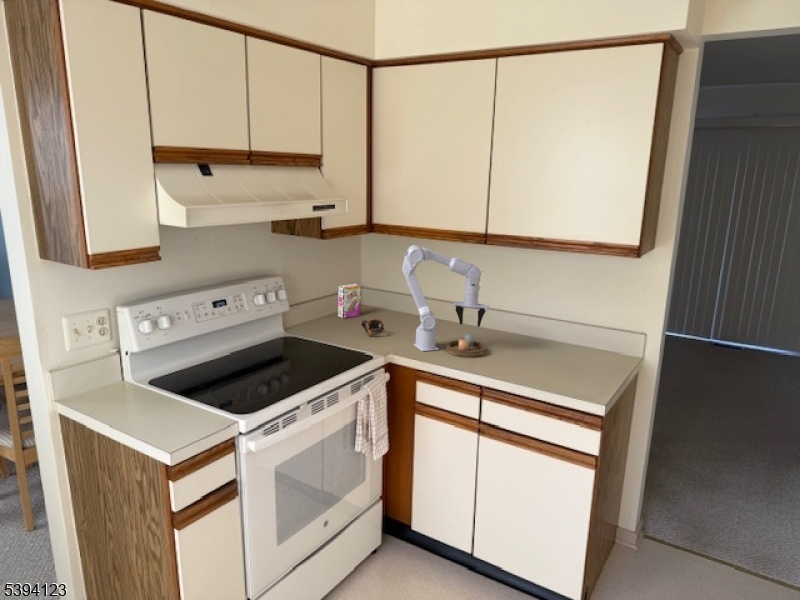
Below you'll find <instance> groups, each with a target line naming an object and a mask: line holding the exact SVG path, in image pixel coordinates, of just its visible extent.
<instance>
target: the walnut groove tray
mask: <svg viewBox="0 0 800 600" xmlns="http://www.w3.org/2000/svg"><path fill="white" fill-rule="evenodd" d="M459 340H460V339H457V340H451V341H449V342H447V343H446V352H447V353H448V354H450V355H452V356H453V357H459V358H467V359H469V358H471V359H473V358H479V357H482V356H484V355H485V354H486V345H485V344H484V343H482V342H479V341H476V340H474V345H473V347H471V348H470V347H469V346H468V351H461V350H458V347H459Z"/></svg>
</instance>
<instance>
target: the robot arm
mask: <svg viewBox="0 0 800 600" xmlns="http://www.w3.org/2000/svg"><path fill="white" fill-rule="evenodd" d="M423 261H424V262H426V261H434V262H437V263H439V264H442V265H444V266H447V267H448V270H449V271H451V272H453V273H456V274H458V275H461V276H462V277H465V282H464V285H465V287H464V301H454V302H453V308H455V312H456V314H457V317H458V322H459V325H462V324H464V323H463V322H464V310H465V309H472V310H473V309H474V310H477V325H476V326H477V327H480V326H481V324H482V319H483V317H484V315H485V314H486V312H488V310H489V304H482V303H479V294H480V293H479V290H480V287H479V286H480V278H481V276H482V272H481V270H480V268H479V267H478V266H477V265H475V264H474V263H471V262H469V261H468V262H467V261H465V260H462V258H461V257H459V256H458V257H453V258H450V257H447V256H445V255H443V254H441V253H438V252H436V251H435V250H432V249H430V248H426V247H424V246H419V245H417V244H413V245H410V246H409V247H408V248H407V250H406V252H405V253H404V259H403V264H402V268H401V271H402V273H403V275H404V278H405V281H406V283H407V286H408V289H409V291H410V293H411V296H412V298H413V300H414V303H415V306H416V308H417V310H418V313H419V320H420V325H419V326H417V328H416V330H415V343H413V346H414V347H416V348H417V349H418V350H420V351H421V352H428V351H438V350H440V348H439V347H437V346H436V344H437V343H436V341H437V338H436V335H437V319H436V318H435V314H434V312H432V311H431V309H430V308H429V305H428V303H427V300H426V298H425V296H424V293H423V291H422V288H421V285H420V283H419V281H418V278H417V275H416V272H415V271H416V269H417V266H418V265H419V264H421V262H423Z"/></svg>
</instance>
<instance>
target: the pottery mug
mask: <svg viewBox="0 0 800 600" xmlns="http://www.w3.org/2000/svg"><path fill="white" fill-rule="evenodd" d="M360 324H361V327H362V328H363V329H364V330H365V332H367V337H369V338H370V337H372V336H374V335H378V334H381V333H382V332H383V331H385V324H384V322H383V321H382V320H380V319H378V318H371V319H369V320H366V319H365V320H364V319H363V320H362V321H361V323H360ZM379 325H380V326H379Z"/></svg>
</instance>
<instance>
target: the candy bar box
mask: <svg viewBox="0 0 800 600" xmlns="http://www.w3.org/2000/svg"><path fill="white" fill-rule="evenodd" d="M337 292H338V294H337V295H338V299H337V301H338V302H337V303H338V304H337V317H338V318H340V319H343V320H345V319H349V318H355V317H361V305H362V303H361V299H362V285H360V284H357V283H352V284H344V285H338V291H337Z"/></svg>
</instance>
